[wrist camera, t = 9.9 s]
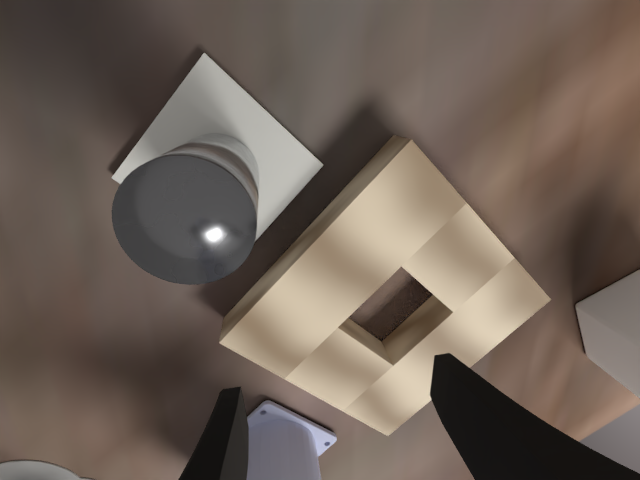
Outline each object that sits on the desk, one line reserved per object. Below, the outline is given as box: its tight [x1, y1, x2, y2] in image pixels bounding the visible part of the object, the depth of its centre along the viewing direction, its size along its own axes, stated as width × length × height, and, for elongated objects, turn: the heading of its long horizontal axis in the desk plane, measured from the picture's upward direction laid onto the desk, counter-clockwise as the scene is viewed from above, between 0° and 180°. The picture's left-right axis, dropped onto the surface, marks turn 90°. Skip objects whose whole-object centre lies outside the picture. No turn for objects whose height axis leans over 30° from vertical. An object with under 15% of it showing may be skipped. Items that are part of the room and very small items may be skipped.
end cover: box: [112, 133, 260, 285], centre depth 14 cm, size 4×4×8 cm
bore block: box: [219, 135, 551, 436], centre depth 22 cm, size 16×16×2 cm
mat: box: [112, 53, 323, 241], centre depth 18 cm, size 8×8×1 cm
